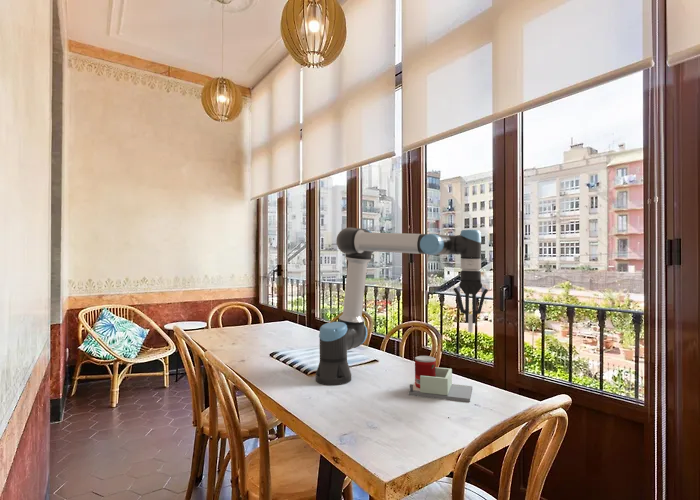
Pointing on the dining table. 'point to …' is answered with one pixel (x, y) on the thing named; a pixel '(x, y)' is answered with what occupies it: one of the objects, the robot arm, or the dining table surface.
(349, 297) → the robot arm
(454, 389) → the base
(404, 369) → the dining table surface
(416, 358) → the canned food
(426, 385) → the housing
